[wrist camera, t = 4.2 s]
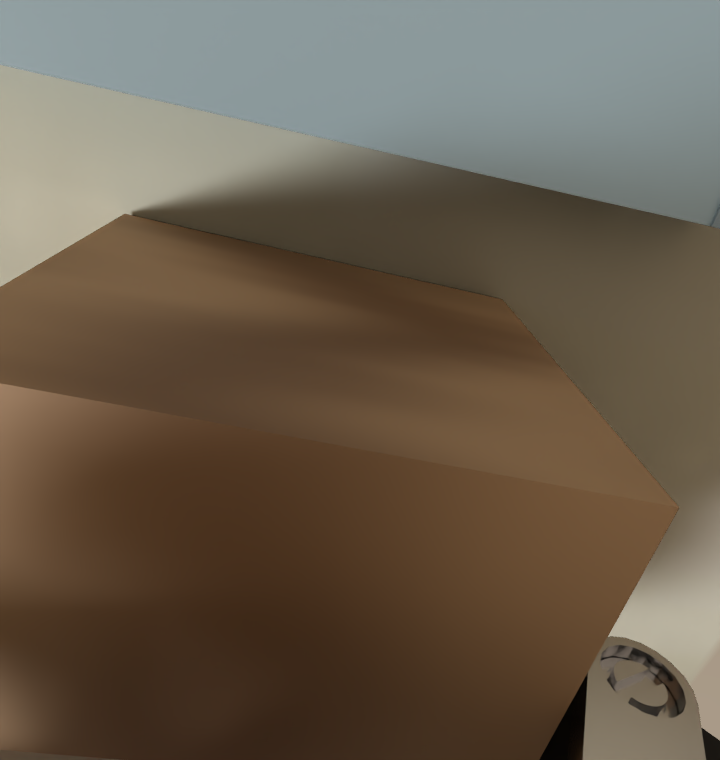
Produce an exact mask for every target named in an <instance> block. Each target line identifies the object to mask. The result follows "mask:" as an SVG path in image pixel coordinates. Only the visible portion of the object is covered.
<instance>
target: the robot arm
mask: <svg viewBox="0 0 720 760" xmlns="http://www.w3.org/2000/svg"><path fill="white" fill-rule="evenodd" d="M0 760H118V759H105V758H93V757H81V756H69V755H57V754H45V753H32V752H20V751H8V750H0ZM539 760H720V741H719V740H718V739H717V738H715V737H714V736H712V735H711V734H710V733H708V732H707V731H705V730H704V729H703V728H701V723H700V715H699V708H698V703H697V700H696V697H695V694H694V691H693V689H692V688H691V686H690V685H689V683H688V682H687V680H686V678H685V677H684V676H683V675H682V674H681V673H680V671H679V670H678V669H677V668H676V667H675V666H674V665H673V664H672V663H671V662H670V661H668V660H667V659H666V658H664V657H663V656H662V655H660V654H659V653H658V652H656V651H655V650H653V649H651V648H649V647H647V646H645V645H644V644H642V643H639V642H636V641H633V640H630V639H627V638H623V637H613V636H610V637H607V639H606V640H605V642H604V644H603V646H602V648H601V649H600V651H599V653H598V655H597V657H596V658H595V660H594V662H593V664H592V666H591V667H590V669H589V671H588V673H587V675H586V676H585V678H584V680H583V682H582V684H581V685H580V687H579V689H578V691H577V693H576V694H575V696H574V698H573V700H572V702H571V703H570V705H569V707H568V709H567V711H566V712H565V714H564V716H563V718H562V720H561V721H560V723H559V725H558V727H557V729H556V730H555V732H554V734H553V736H552V738H551V739H550V741H549V743H548V745H547V747H546V748H545V750H544V752H543V754H542V756H541V757H540V759H539Z"/></svg>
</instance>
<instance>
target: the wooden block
mask: <svg viewBox="0 0 720 760" xmlns="http://www.w3.org/2000/svg"><path fill="white" fill-rule="evenodd" d="M678 509H679V507H678V505H677V504H676V503H675V502H674V501H673V500H672V498H671V497H670V496H669V495H668V494H667V493H666V491H665V490H664V489H663V488H662V487H661V485H660V484H659V483H658V482H657V481H656V480H655V478H654V477H653V476H652V475H651V474H650V473H649V471H648V470H647V469H646V468H645V467H644V465H643V464H642V463H641V462H640V461H639V460H638V458H637V457H636V456H635V455H634V454H633V453H632V451H631V450H630V449H629V448H628V447H627V445H626V444H625V443H624V442H623V441H622V440H621V438H620V437H619V436H618V435H617V434H616V433H615V431H614V430H613V429H612V428H611V427H610V425H609V424H608V423H607V422H606V421H605V420H604V418H603V417H602V416H601V415H600V414H599V413H598V411H597V410H596V409H595V408H594V407H593V405H592V404H591V403H590V402H589V401H588V400H587V398H586V397H585V396H584V395H583V394H582V393H581V391H580V390H579V389H578V388H577V387H576V385H575V384H574V383H573V382H572V381H571V380H570V378H569V377H568V376H567V375H566V374H565V373H564V371H563V370H562V369H561V368H560V367H559V365H558V364H557V363H556V362H555V361H554V360H553V358H552V357H551V356H550V355H549V354H548V353H547V351H546V350H545V349H544V348H543V347H542V345H541V344H540V343H539V342H538V341H537V340H536V338H535V337H534V336H533V335H532V334H531V333H530V331H529V330H528V329H527V328H526V327H525V325H524V324H523V323H522V322H521V321H520V320H519V318H518V317H517V316H516V315H515V314H514V313H513V311H512V310H511V309H510V308H509V307H508V305H507V304H506V303H505V302H504V301H503V300H502V299H498V298H494V297H489V296H485V295H481V294H476V293H472V292H467V291H463V290H459V289H454V288H450V287H445V286H441V285H436V284H432V283H428V282H423V281H419V280H414V279H410V278H406V277H401V276H397V275H392V274H388V273H384V272H379V271H375V270H370V269H366V268H361V267H357V266H353V265H348V264H344V263H339V262H335V261H331V260H326V259H322V258H317V257H313V256H308V255H304V254H300V253H295V252H291V251H286V250H282V249H278V248H273V247H269V246H264V245H260V244H256V243H251V242H247V241H242V240H238V239H233V238H229V237H225V236H220V235H216V234H211V233H207V232H203V231H198V230H194V229H189V228H185V227H181V226H176V225H172V224H167V223H163V222H158V221H154V220H150V219H145V218H141V217H136V216H132V215H128V214H124V215H122V216H120V217H118V218H117V219H115V220H113V221H112V222H110V223H108V224H107V225H105V226H103V227H101V228H100V229H98V230H96V231H95V232H93V233H91V234H90V235H88V236H86V237H84V238H83V239H81V240H79V241H78V242H76V243H74V244H73V245H71V246H69V247H67V248H66V249H64V250H62V251H61V252H59V253H57V254H56V255H54V256H52V257H51V258H49V259H47V260H45V261H44V262H42V263H40V264H39V265H37V266H35V267H34V268H32V269H30V270H28V271H27V272H25V273H23V274H22V275H20V276H18V277H17V278H15V279H13V280H11V281H10V282H8V283H6V284H5V285H3V286H1V287H0V750H8V751H20V752H32V753H45V754H57V755H69V756H81V757H93V758H105V759H118V760H539V759H540V757H541V756H542V754H543V752H544V750H545V748H546V747H547V745H548V743H549V741H550V739H551V738H552V736H553V734H554V732H555V730H556V729H557V727H558V725H559V723H560V721H561V720H562V718H563V716H564V714H565V712H566V711H567V709H568V707H569V705H570V703H571V702H572V700H573V698H574V696H575V694H576V693H577V691H578V689H579V687H580V685H581V684H582V682H583V680H584V678H585V676H586V675H587V673H588V671H589V669H590V667H591V666H592V664H593V662H594V660H595V658H596V657H597V655H598V653H599V651H600V649H601V648H602V646H603V644H604V642H605V640H606V639H607V637H608V635H609V633H610V631H611V630H612V628H613V626H614V624H615V622H616V621H617V619H618V617H619V615H620V613H621V612H622V610H623V608H624V606H625V604H626V603H627V601H628V599H629V597H630V595H631V594H632V592H633V590H634V588H635V587H636V585H637V583H638V581H639V579H640V578H641V576H642V574H643V572H644V570H645V569H646V567H647V565H648V563H649V561H650V560H651V558H652V556H653V554H654V552H655V551H656V549H657V547H658V545H659V543H660V542H661V540H662V538H663V536H664V534H665V533H666V531H667V529H668V527H669V525H670V524H671V522H672V520H673V518H674V516H675V515H676V513H677V511H678Z"/></svg>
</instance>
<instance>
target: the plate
mask: <svg viewBox="0 0 720 760" xmlns="http://www.w3.org/2000/svg"><path fill="white" fill-rule="evenodd" d="M0 65H4V66H8V67H12V68H17V69H21V70H26V71H30V72H34V73H39V74H43V75H48V76H52V77H56V78H61V79H65V80H70V81H74V82H78V83H83V84H87V85H92V86H96V87H100V88H105V89H109V90H114V91H118V92H122V93H127V94H131V95H136V96H140V97H144V98H149V99H153V100H158V101H162V102H166V103H171V104H175V105H179V106H184V107H188V108H193V109H197V110H201V111H206V112H210V113H215V114H219V115H223V116H228V117H232V118H237V119H241V120H245V121H250V122H254V123H259V124H263V125H267V126H272V127H276V128H281V129H285V130H289V131H294V132H298V133H303V134H307V135H311V136H316V137H320V138H325V139H329V140H333V141H338V142H342V143H347V144H351V145H355V146H360V147H364V148H369V149H373V150H377V151H382V152H386V153H391V154H395V155H399V156H404V157H408V158H412V159H417V160H421V161H426V162H430V163H434V164H439V165H443V166H448V167H452V168H456V169H461V170H465V171H470V172H474V173H478V174H483V175H487V176H492V177H496V178H500V179H505V180H509V181H514V182H518V183H522V184H527V185H531V186H536V187H540V188H544V189H549V190H553V191H558V192H562V193H566V194H571V195H575V196H580V197H584V198H588V199H593V200H597V201H602V202H606V203H610V204H615V205H619V206H624V207H628V208H632V209H637V210H641V211H645V212H650V213H654V214H659V215H663V216H667V217H672V218H676V219H681V220H685V221H689V222H694V223H698V224H703V225H707V226H711V227H715V228H719V229H720V0H0Z"/></svg>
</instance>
